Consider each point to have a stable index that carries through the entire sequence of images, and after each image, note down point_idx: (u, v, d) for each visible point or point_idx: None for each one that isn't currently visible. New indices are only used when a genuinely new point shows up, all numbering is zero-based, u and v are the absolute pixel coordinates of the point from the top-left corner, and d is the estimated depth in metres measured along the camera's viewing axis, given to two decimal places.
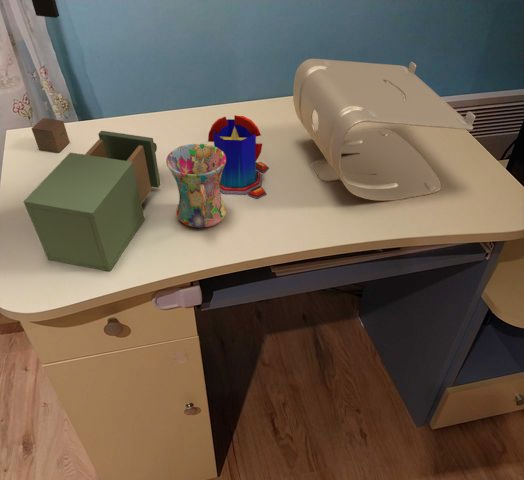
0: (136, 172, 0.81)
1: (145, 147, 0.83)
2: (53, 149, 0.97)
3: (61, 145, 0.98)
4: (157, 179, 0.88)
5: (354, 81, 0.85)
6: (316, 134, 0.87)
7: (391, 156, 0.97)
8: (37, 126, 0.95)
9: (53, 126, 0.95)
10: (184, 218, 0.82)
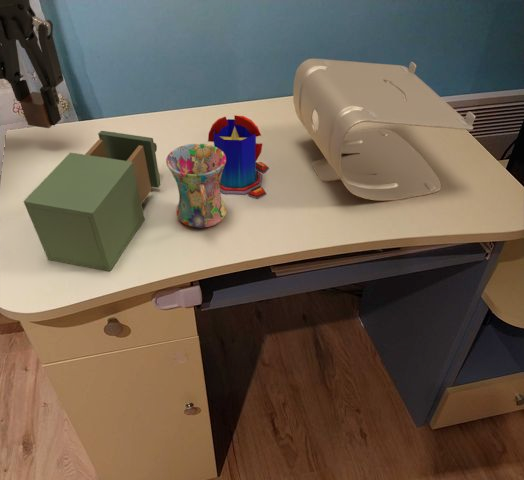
0: (136, 172, 0.81)
1: (145, 147, 0.83)
2: (43, 124, 0.93)
3: None
4: (157, 179, 0.88)
5: (354, 81, 0.85)
6: (316, 134, 0.87)
7: (391, 156, 0.97)
8: (26, 99, 0.91)
9: None
10: (184, 218, 0.82)
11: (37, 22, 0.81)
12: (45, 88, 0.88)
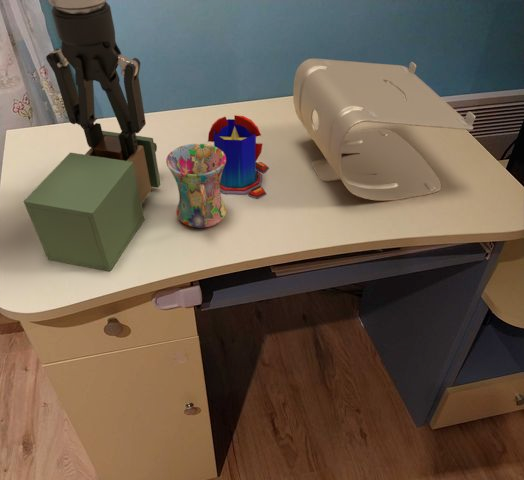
0: (136, 172, 0.81)
1: (145, 147, 0.83)
2: None
3: None
4: (157, 179, 0.88)
5: (354, 81, 0.85)
6: (316, 134, 0.87)
7: (391, 156, 0.97)
8: (100, 145, 0.79)
9: (120, 146, 0.79)
10: (184, 218, 0.82)
11: (123, 61, 0.69)
12: (126, 135, 0.76)
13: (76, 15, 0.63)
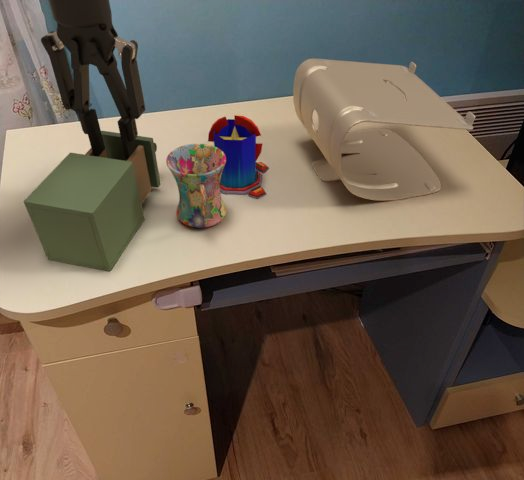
0: (136, 172, 0.81)
1: (145, 147, 0.83)
2: None
3: None
4: (157, 179, 0.88)
5: (354, 81, 0.85)
6: (316, 134, 0.87)
7: (391, 156, 0.97)
8: None
9: None
10: (184, 218, 0.82)
11: (120, 44, 0.67)
12: (125, 120, 0.74)
13: None
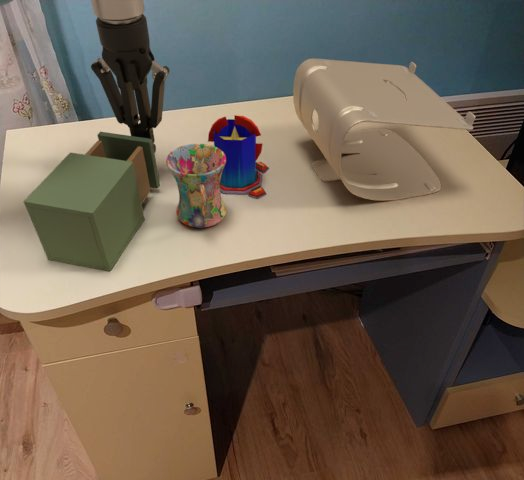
0: (135, 173, 0.81)
1: (144, 148, 0.83)
2: None
3: None
4: (156, 180, 0.87)
5: (354, 81, 0.85)
6: (316, 134, 0.87)
7: (391, 156, 0.97)
8: None
9: None
10: (184, 218, 0.82)
11: (156, 68, 0.79)
12: (144, 130, 0.86)
13: (118, 25, 0.73)
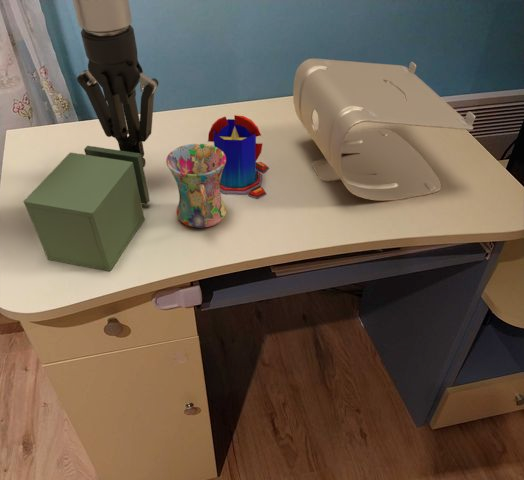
0: None
1: (133, 163, 0.80)
2: None
3: None
4: (146, 195, 0.85)
5: (354, 81, 0.85)
6: (316, 134, 0.87)
7: (391, 156, 0.97)
8: None
9: None
10: (184, 218, 0.82)
11: (144, 80, 0.76)
12: (133, 143, 0.83)
13: (104, 37, 0.70)
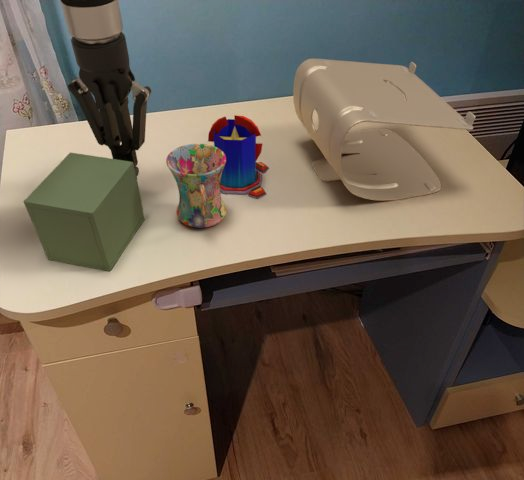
0: None
1: None
2: None
3: None
4: None
5: (354, 81, 0.85)
6: (316, 134, 0.87)
7: (391, 156, 0.97)
8: None
9: None
10: (184, 218, 0.82)
11: (136, 88, 0.74)
12: (126, 152, 0.81)
13: (94, 45, 0.68)
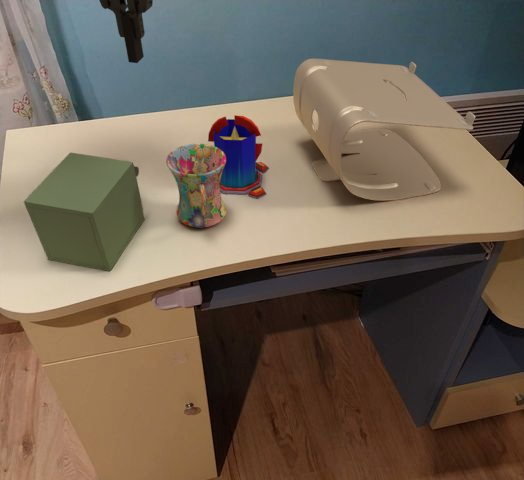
0: None
1: None
2: None
3: None
4: None
5: (354, 81, 0.85)
6: (316, 134, 0.87)
7: (391, 156, 0.97)
8: None
9: None
10: (184, 218, 0.82)
11: None
12: (132, 15, 0.75)
13: None
